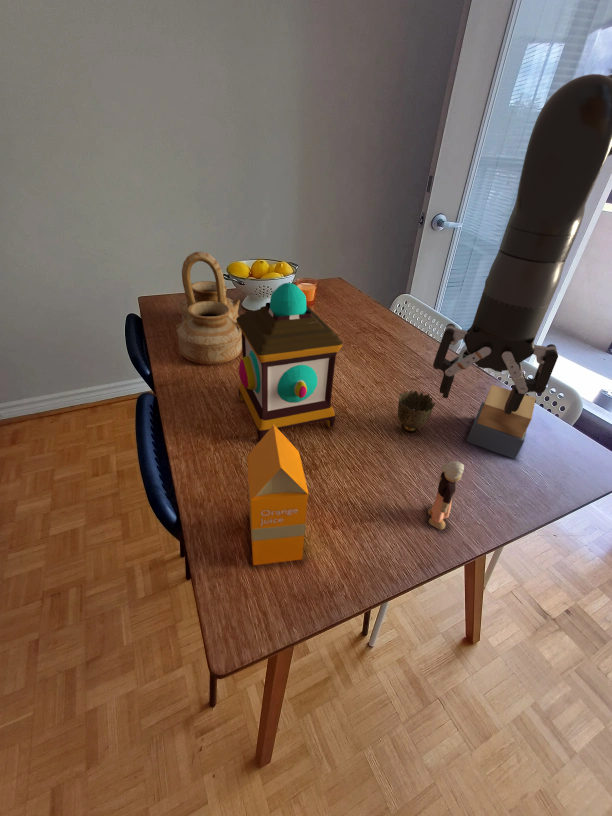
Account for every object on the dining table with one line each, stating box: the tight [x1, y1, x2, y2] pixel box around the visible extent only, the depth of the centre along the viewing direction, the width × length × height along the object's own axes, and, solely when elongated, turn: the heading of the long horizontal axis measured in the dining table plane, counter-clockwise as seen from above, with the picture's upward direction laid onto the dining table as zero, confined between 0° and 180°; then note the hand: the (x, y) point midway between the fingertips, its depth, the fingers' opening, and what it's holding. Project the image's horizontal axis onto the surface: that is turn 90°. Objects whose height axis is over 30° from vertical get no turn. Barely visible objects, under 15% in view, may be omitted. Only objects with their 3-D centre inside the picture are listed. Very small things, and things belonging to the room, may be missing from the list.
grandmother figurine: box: [427, 460, 465, 530], centre depth 66 cm, size 8×4×13 cm, turn 178°
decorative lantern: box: [236, 282, 344, 442], centre depth 82 cm, size 20×20×30 cm
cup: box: [397, 390, 436, 434], centre depth 86 cm, size 8×7×8 cm
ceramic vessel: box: [175, 251, 242, 365], centre depth 111 cm, size 34×18×25 cm, turn 13°
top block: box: [477, 384, 537, 438], centre depth 84 cm, size 9×9×5 cm
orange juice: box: [246, 424, 310, 566], centre depth 58 cm, size 8×9×20 cm
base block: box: [466, 401, 528, 460], centre depth 87 cm, size 10×10×5 cm
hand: (475, 403), depth 57 cm, fingers open, 8 cm apart
